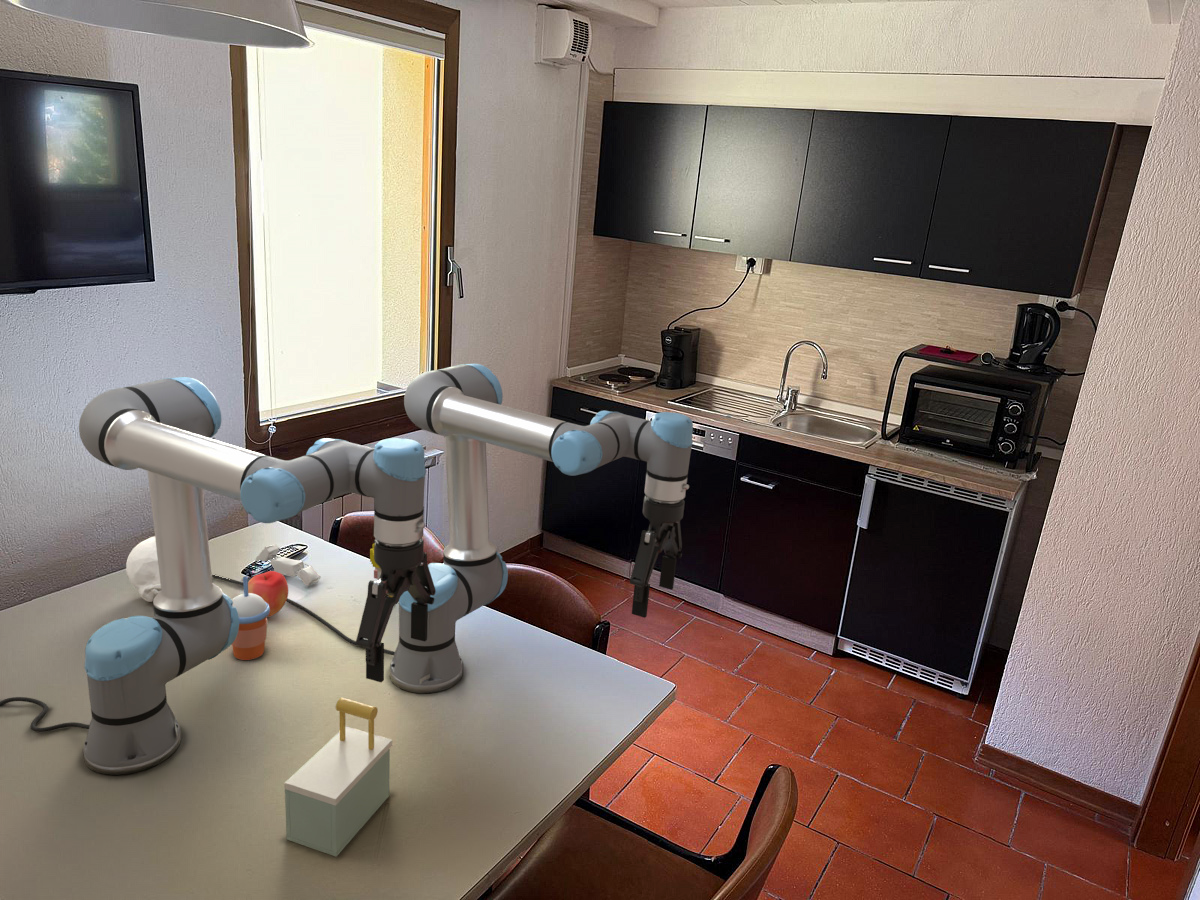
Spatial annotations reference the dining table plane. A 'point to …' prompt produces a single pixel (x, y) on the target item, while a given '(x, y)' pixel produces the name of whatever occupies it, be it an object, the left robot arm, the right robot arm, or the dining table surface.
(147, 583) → the skull
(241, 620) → the cup with straw
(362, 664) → the dining table surface
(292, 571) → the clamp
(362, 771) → the lid
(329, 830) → the chest
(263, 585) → the apple
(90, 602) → the dining table surface
